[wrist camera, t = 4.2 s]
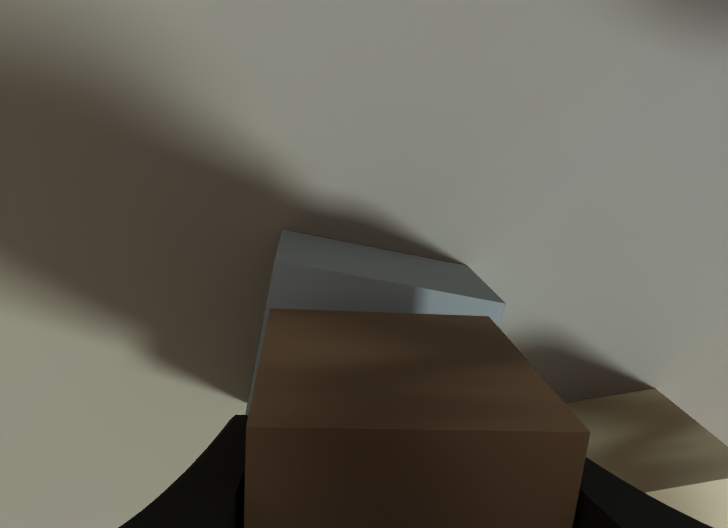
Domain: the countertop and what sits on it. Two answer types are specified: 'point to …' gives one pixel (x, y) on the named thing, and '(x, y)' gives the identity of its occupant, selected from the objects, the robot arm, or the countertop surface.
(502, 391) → the walnut cube
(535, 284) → the countertop surface
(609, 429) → the maple cube
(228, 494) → the robot arm
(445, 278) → the grey base block
